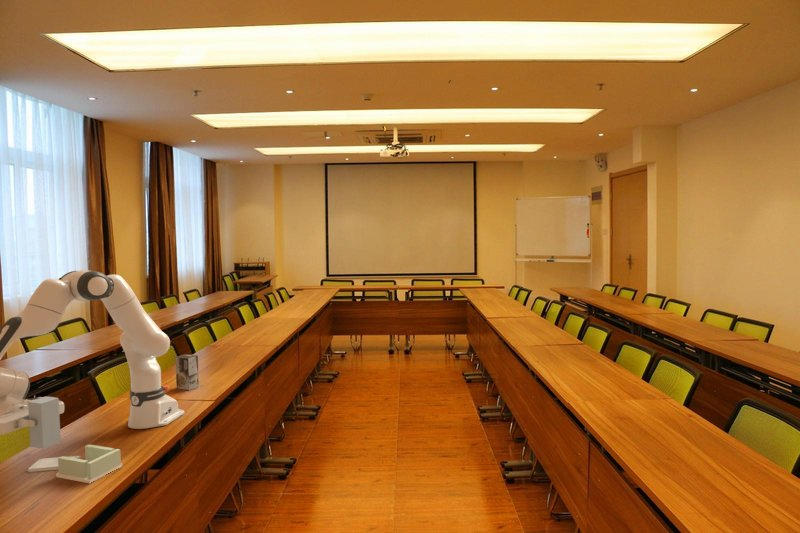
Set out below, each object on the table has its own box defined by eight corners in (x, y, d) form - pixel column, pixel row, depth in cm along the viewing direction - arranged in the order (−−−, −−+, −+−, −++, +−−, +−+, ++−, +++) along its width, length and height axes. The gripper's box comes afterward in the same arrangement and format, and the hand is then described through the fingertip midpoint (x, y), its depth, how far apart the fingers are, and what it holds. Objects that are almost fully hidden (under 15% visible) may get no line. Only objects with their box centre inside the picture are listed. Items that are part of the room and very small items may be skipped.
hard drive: (80, 454, 174) (40, 457, 171) (70, 465, 166) (27, 468, 163) (80, 459, 174) (40, 462, 171) (70, 470, 166) (27, 473, 163)
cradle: (89, 460, 171) (89, 443, 171) (122, 466, 167) (121, 448, 166) (56, 477, 160) (55, 458, 159) (89, 483, 155) (88, 464, 155)
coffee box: (199, 386, 256) (198, 355, 255) (189, 390, 250) (188, 358, 249) (186, 384, 260) (185, 353, 259) (175, 388, 254) (174, 356, 253)
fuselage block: (47, 439, 160) (45, 396, 159) (60, 441, 158) (58, 398, 158) (30, 446, 155) (28, 401, 154) (43, 448, 153) (41, 403, 152)
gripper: (-23, 416, 150) (10, 421, 146) (45, 395, 170) (76, 398, 165) (-21, 436, 151) (12, 442, 146) (46, 413, 170) (77, 417, 166)
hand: (46, 419), depth 156 cm, fingers closed on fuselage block, 5 cm apart
